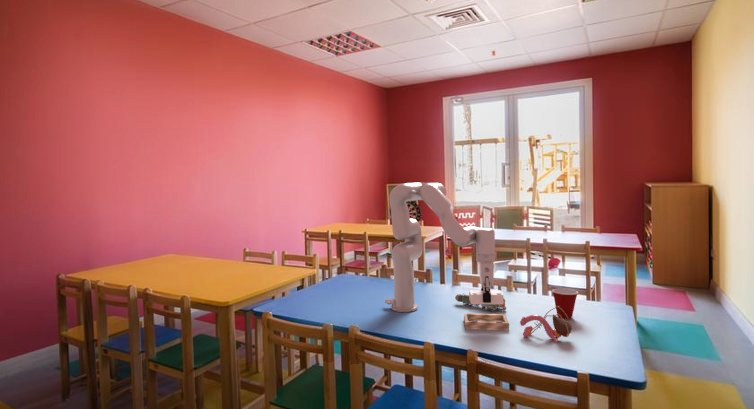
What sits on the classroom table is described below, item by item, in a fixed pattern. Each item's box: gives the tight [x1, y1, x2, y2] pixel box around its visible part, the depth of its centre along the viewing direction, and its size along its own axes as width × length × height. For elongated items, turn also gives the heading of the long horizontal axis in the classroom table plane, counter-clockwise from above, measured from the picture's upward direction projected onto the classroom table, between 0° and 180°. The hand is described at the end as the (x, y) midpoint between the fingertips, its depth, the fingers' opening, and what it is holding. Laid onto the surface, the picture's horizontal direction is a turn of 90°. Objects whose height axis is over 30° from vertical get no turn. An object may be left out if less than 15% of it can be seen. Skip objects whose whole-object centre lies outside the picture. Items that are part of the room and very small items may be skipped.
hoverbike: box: [454, 293, 507, 313], centre depth 203 cm, size 10×25×8 cm, turn 57°
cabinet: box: [463, 312, 510, 331], centre depth 180 cm, size 17×11×3 cm, turn 81°
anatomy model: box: [519, 306, 573, 344], centre depth 164 cm, size 11×15×17 cm
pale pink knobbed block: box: [468, 290, 504, 305], centre depth 179 cm, size 13×6×4 cm, turn 86°
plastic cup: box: [551, 288, 579, 320], centre depth 187 cm, size 11×11×12 cm
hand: (485, 299), depth 179 cm, fingers closed on pale pink knobbed block, 6 cm apart
